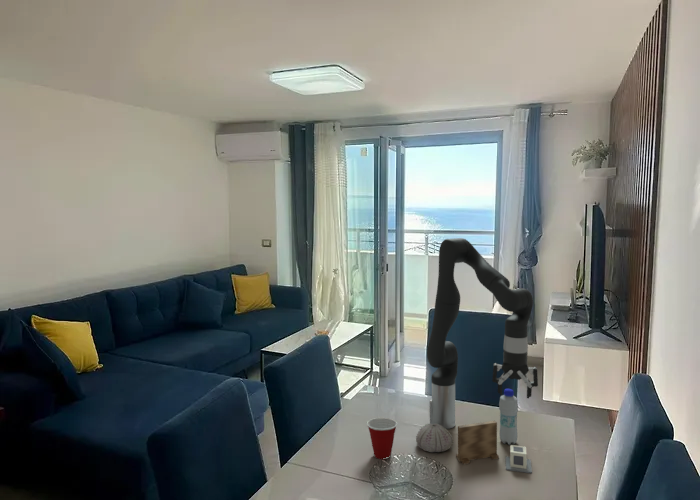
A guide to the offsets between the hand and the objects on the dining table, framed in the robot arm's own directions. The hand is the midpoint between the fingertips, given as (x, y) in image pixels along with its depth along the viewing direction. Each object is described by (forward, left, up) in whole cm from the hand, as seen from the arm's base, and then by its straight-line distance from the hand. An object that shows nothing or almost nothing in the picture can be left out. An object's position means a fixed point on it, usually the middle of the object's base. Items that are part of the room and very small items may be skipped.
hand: (514, 396), depth 160 cm
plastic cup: (-39, -21, -23) cm, 50 cm away
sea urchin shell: (-27, -5, -23) cm, 36 cm away
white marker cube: (+2, -1, -23) cm, 23 cm away
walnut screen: (-11, -4, -23) cm, 26 cm away
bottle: (-6, +13, -23) cm, 27 cm away
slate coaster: (+2, -1, -23) cm, 23 cm away
